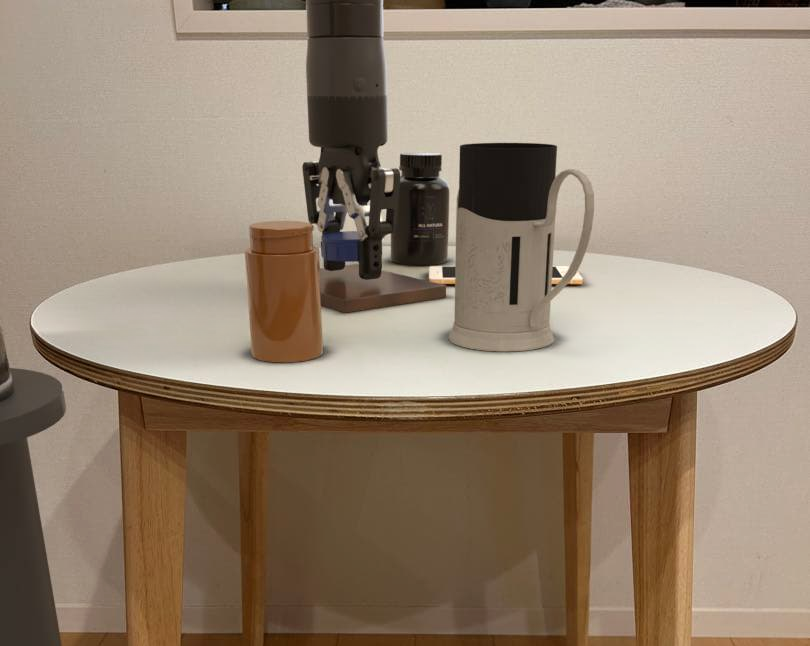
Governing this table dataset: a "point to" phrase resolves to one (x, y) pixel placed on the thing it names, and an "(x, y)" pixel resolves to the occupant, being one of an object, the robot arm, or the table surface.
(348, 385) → the table surface
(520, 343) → the glass holder
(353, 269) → the serving board
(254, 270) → the jar
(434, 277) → the cell phone
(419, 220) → the supplement bottle
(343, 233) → the jar lid
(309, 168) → the robot arm
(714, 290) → the table surface
